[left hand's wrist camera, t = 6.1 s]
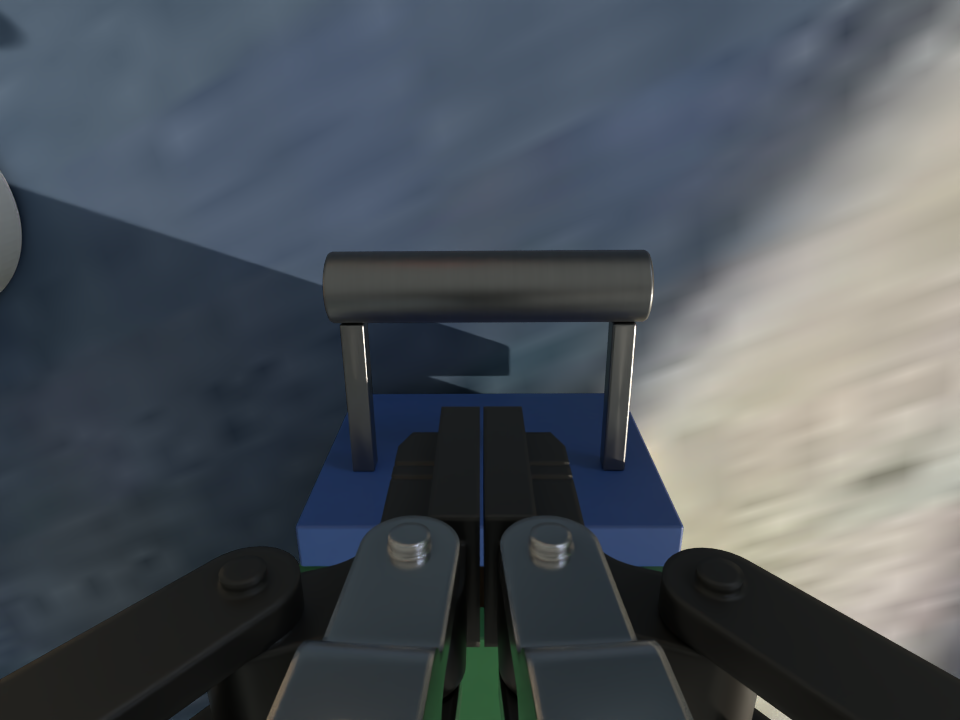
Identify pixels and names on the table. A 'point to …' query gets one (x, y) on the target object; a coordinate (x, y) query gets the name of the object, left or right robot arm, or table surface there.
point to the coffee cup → (8, 234)
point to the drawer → (569, 417)
